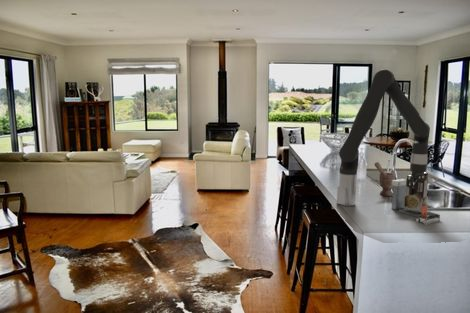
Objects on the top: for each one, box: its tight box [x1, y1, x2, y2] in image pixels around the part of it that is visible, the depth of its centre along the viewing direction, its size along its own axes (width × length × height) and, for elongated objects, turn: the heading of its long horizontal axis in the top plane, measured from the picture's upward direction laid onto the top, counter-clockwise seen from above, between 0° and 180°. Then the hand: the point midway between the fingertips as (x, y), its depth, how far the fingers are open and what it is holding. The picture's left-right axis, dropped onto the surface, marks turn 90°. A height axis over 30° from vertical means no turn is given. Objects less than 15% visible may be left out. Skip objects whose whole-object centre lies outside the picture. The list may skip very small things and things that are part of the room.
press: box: [391, 178, 441, 226], centre depth 192 cm, size 18×25×15 cm
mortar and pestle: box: [374, 161, 396, 197], centre depth 228 cm, size 12×9×20 cm
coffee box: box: [403, 178, 429, 212], centre depth 194 cm, size 9×6×16 cm
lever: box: [419, 204, 429, 224], centre depth 180 cm, size 2×2×8 cm
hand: (416, 194), depth 194 cm, fingers closed on coffee box, 7 cm apart
